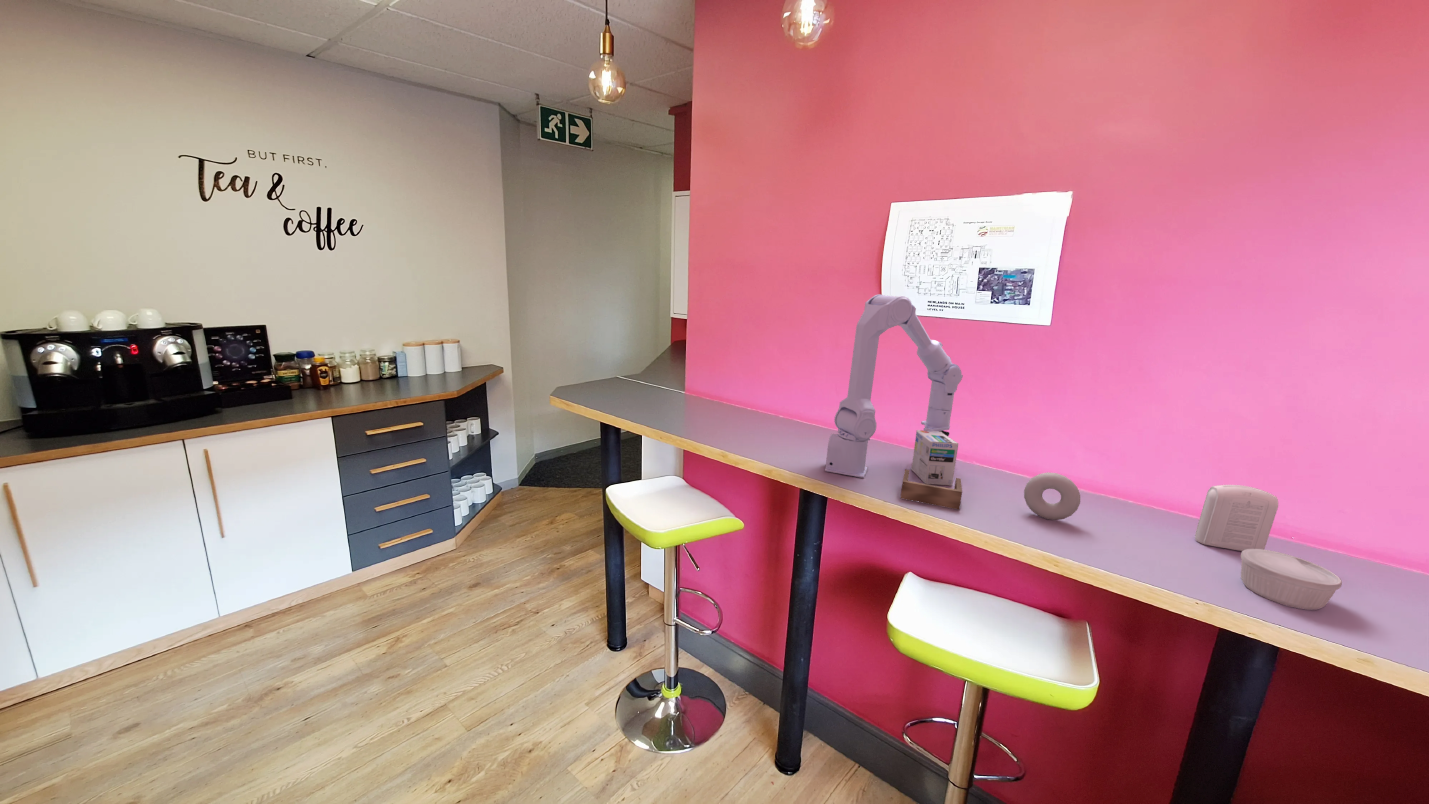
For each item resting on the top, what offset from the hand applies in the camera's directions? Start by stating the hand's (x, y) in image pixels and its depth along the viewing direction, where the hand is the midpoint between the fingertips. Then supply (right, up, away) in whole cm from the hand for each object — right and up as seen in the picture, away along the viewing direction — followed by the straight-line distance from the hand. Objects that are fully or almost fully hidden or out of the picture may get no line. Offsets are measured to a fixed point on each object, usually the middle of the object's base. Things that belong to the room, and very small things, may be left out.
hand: (932, 457), depth 143 cm
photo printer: (+41, -13, -39) cm, 58 cm away
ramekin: (+34, -17, -55) cm, 67 cm away
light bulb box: (-4, -4, -9) cm, 11 cm away
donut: (+12, -10, -30) cm, 34 cm away
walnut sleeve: (-9, -6, -22) cm, 25 cm away
